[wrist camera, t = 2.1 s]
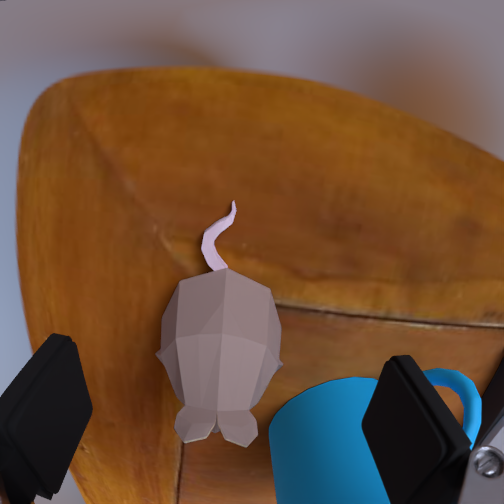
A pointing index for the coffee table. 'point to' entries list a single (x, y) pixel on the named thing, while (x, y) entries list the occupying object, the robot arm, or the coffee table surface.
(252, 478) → the coffee table surface
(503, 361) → the kitchen scale
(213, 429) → the mouse figurine
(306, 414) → the mug
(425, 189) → the coffee table surface
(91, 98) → the coffee table surface
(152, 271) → the coffee table surface
